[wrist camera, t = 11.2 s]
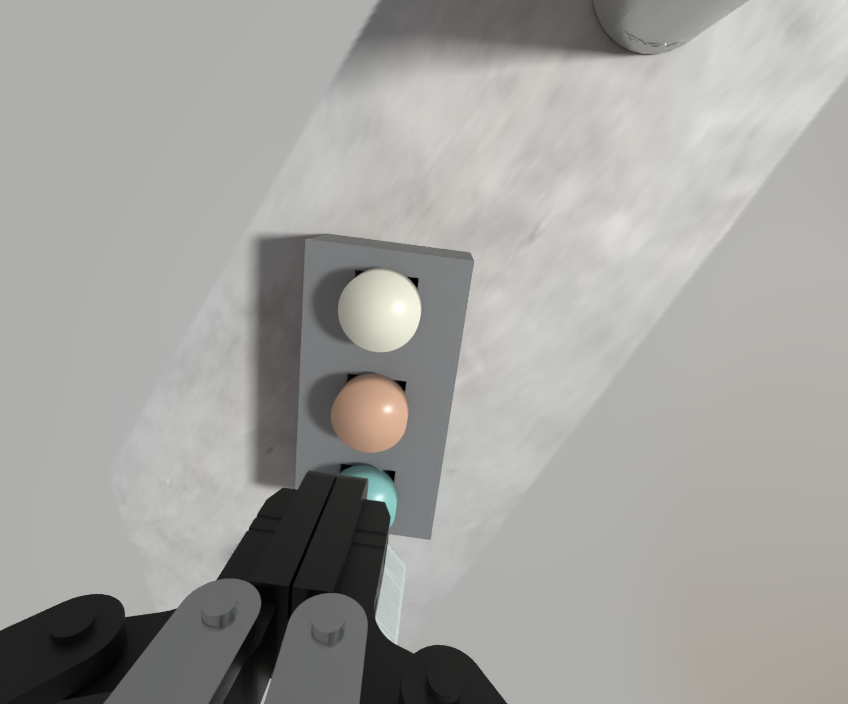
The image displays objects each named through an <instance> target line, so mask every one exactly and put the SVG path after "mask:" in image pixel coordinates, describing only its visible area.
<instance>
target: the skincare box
mask: <svg viewBox="0 0 848 704" xmlns="http://www.w3.org/2000/svg"><path fill="white" fill-rule="evenodd" d="M406 567H407V566H406V565H405V564H404V562H403V561H402V560H401V559H400V558H399V557H398V555H397V554H396V553H395V552H394V551H393V549H392V548H391V547H390V546H389V545H388V544H387V553H386V561H385V568H384V574H383V579H382V585H381V590H380V596H379V601H378V607H377V612H376V618H375V619H376V622H377V624H378V626H379V628H380V630H381V631H382V633H383V634H384V635H385V636H386V637H387V638H388V639H389V640H390V641H392V642H393V643H395V644H396V645H397V643H398V635H399V626H400V618H401V609H402V601H403V593H404V584H405V576H406Z"/></svg>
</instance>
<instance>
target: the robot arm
mask: <svg viewBox="0 0 848 704" xmlns="http://www.w3.org/2000/svg"><path fill="white" fill-rule="evenodd" d="M747 1H748V0H593V2H594V9H595V11H596V14H597V17H598V19H599V22H600V24H601V25H602V27H603V28H604V30H605V32H606V33H607V35H608V36H609V37H611V38H612V39H613V40H614V41H615V42H616V43H617V44H618V45H620V46H622V47H624V48H626V49H627V50H629V51H633V52H637V53H641V54H658V53H662V52H667V51H671V50H673V49H675V48H677V47H679V46H681V45H684V44H685V43H687V42H688V41H690V40H691V39H693V38H694V37H695V36H697V35H698V34H700V33H701V32H703V31H704V30H706V29H707V28H709V27H710V26H712V25H713V24H715V23H716V22H718V21H719V20H721V19H722V18H724V17H725V16H727V15H728V14H730V13H731V12H732V11H734V10H735V9H737V8H738V7H740V6H741V5H743V4H744V3H746V2H747ZM367 493H368V478H362V477H355V476H348V475H339V476H338V474H332V473H325V472H318V471H311V470H309V471H308V472H307V473H306V475H305V477H304V479H303V480H302V482H301V484H300V486H299V488H298V490H296V489H289V488H282V489H281V490H279V491H278V492H277V493H275V494H274V495H272V496H271V497H270V498H268V499H267V500H266V501H265V503H264V505H263V506H262V508H261V509H260V511H259V513H258V514H257V518H255V519H254V521H253V522H252V524H251V526H250V527H249V531H247V532H246V534H245V535H244V537H243V538H242V540H241V542H240V543H239V545H238V546H237V548H236V550H235V551H234V553H233V554H232V556H231V558H230V559H229V561H228V562H227V564H226V566H225V567H224V569H223V570H222V572H221V574H220V575H219V577H218V578H217V580H216V581H212V582H209V583H207V584H205V585H203V586H201V587H199V588H197V589H196V590H194V591H193V592H192V593H190V594H189V595H188V596H187V597H186V598H185V599H184V600H183V602H182V603H181V604H180V605H179V607H178V608H177V609H173V610H170V611H165V612H159V613H152V614H145V615H138V616H131V617H125V611H124V607H123V605H122V604H121V602H120V601H119V600H117V599H116V598H114V597H112V596H109V595H104V594H90V595H84V596H80V597H76V598H73V599H70V600H67V601H65V602H62V603H60V604H58V605H56V606H53V607H51V608H49V609H47V610H45V611H42V612H40V613H38V614H36V615H34V616H31V617H29V618H27V619H25V620H23V621H21V622H18V623H16V624H14V625H12V626H9V627H7V628H5V629H3V630H1V631H0V704H260V703H261V701H262V698H263V695H264V693H265V690H266V687H267V685H268V682H269V680H270V678H272V679H271V682H270V686H269V689H268V693H267V696H266V699H265V703H264V704H507V703H506V702H505V700H504V699H503V698H502V697H501V695H500V694H499V693H498V691H497V690H496V689H495V688H494V686H493V685H492V684H491V682H490V681H489V680H488V678H487V677H486V676H485V674H484V673H483V672H482V671H481V669H480V668H479V667H478V665H477V664H476V663H475V662H474V661H473V660H472V659H471V658H470V657H469V656H468V655H466V654H465V653H463V652H462V651H460V650H458V649H456V648H453V647H450V646H445V645H432V646H428V647H425V648H423V649H420V650H419V651H417V652H416V653H414V654H413V653H411V652H409V651H408V650H406V649H404V648H402V647H400V646H398V645H396V644H395V643H393V642H392V641H390V640H389V639H388V638H387V637H386V636H385V635H384V634H383V633H382V631H381V630H380V628H379V626H378V624H377V622H376V619H375V618H376V612H377V607H378V601H379V596H380V590H381V585H382V579H383V574H384V568H385V561H386V553H387V544H388V536H389V528H390V520H391V516H390V513H389V511H388V508H387V506H386V503H385V502H382V501H375V500H368V499H367Z"/></svg>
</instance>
